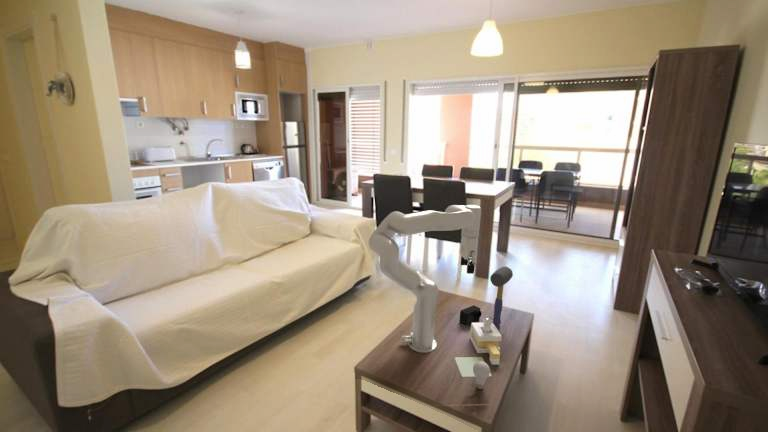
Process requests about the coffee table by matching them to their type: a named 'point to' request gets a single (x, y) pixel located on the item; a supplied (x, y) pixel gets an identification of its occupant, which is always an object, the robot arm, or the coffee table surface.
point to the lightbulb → (481, 373)
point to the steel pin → (487, 324)
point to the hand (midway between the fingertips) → (467, 269)
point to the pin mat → (467, 365)
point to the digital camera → (470, 315)
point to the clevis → (486, 341)
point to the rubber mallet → (500, 290)
